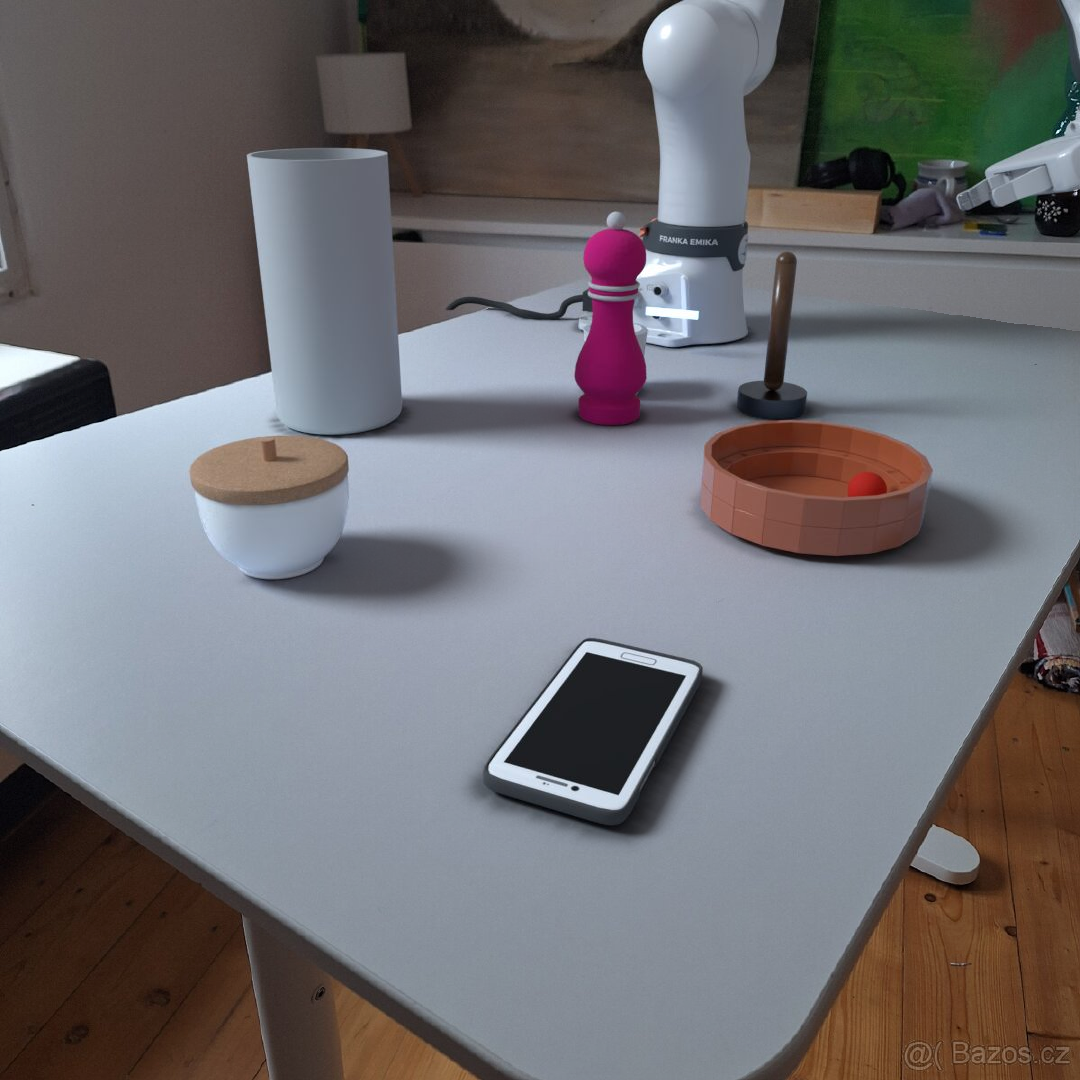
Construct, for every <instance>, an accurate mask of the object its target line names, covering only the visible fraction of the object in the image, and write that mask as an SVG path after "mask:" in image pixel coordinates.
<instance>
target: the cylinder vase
mask: <svg viewBox="0 0 1080 1080" xmlns="http://www.w3.org/2000/svg"><path fill="white" fill-rule="evenodd" d="M246 161H247V168H248V169H247V170H248V177H249V186H250V196H251V203H252V212H253V213H252V214H253V222H254V228H255V230H254V231H255V237H256V246H257V256H258V264H259V272H260V281H261V289H262V298H263V299H262V301H263V308H264V317H265V325H266V333H267V334H266V335H267V342H268V351H269V359H270V369H271V376H272V377H271V378H272V386H273V395H274V402H275V412H276V416H277V418H278V420H279V421H280V422H281V423H282V424H283V425H284V426H286V427H287V428H289V429H291V430H295V431H297V432H301V433H306V434H311V435H312V434H313V435H326V436H331V435H333V436H335V435H338V436H339V435H351V434H358V433H363V432H368V431H372V430H375V429H379V428H382V427H384V426H387V425H388V424H390V423H392V422H394V421H395V420H396V419H397V418H398V417H399V416H400V414H401V412H402V409H403V395H402V394H403V393H402V379H401V378H402V376H401V362H400V361H401V360H400V346H399V345H400V344H399V327H398V309H397V308H398V307H397V293H396V275H395V260H394V242H393V241H394V240H393V226H392V225H393V224H392V207H391V205H392V204H391V191H390V175H389V171H390V170H389V157H388V152H387V151H384V150H378V149H369V148H350V147H348V148H347V147H308V148H306V147H305V148H284V149H283V148H282V149H272V150H262V151H255V152H254V151H253V152H250V153H247V154H246Z"/></svg>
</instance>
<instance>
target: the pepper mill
mask: <svg viewBox="0 0 1080 1080" xmlns="http://www.w3.org/2000/svg"><path fill="white" fill-rule="evenodd" d="M625 225H626V217H625V215H624V214H623V213H622V212H620V211H613V212H610V213H609V214H608V216H607V218H606V226H607V227H608V228H606V229H602V230H599V231H597V232H596V233H594V234H592V235H591V237H590V238H589V239H588V240H587V242H586V244H585V247H584V250H583V257H582V258H583V266H584V268H585V270H586V272H587V273H588V274H589V276H590V277H591V279H590V280H589V281H588V282H587V286H588V288H589V291H588V296H589V297H591V298H592V307H593V314H592V324H591V328H590V331H589V334H588V336H587V339H586V341H585V343H583V345H582V347H581V349H580V351H579V353H578V356H577V359H576V361H575V368H574V380H575V383H576V385H577V387H578V388H579V389H580V390H581V391H582V393H583V394H582V395H580V396H579V398H578V416H579V418H580V419H582V420H583V421H585V422H588V423H591V424H594V425H601V426H621V425H622V426H623V425H627V424H631V423H633V422H636V421H637V420H638V419H639V418H640V416H641V399H640V397H638V396H637V395H638V394H637V392H638V391H639V392H640V391H641V389H642V388H643V387H644V385H645V384H646V382H647V375H648V374H647V364H646V359H645V355H644V356H643V353H642V350H641V348H640V345H639V343H638V340H637V337H636V335H635V330H634V325H633V307H634V301H635V299H636V298H638V297H639V292H638V290H639V289H638V288H639V287H640V283H639V282H638V281H636V279H637V277H638V275H639V274H640V273H641V272H642V271H643V269H644V267H645V265H646V249H645V246H644V244H643V239H641V237H639V235H637V234H636V233H635V232H633V231H631V230H628V229H626V228H625V229H624V227H626V226H625ZM639 392H638V393H639ZM636 394H637V395H636Z"/></svg>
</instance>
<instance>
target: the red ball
mask: <svg viewBox="0 0 1080 1080" xmlns="http://www.w3.org/2000/svg"><path fill="white" fill-rule="evenodd" d="M847 492H848V497H858V496H875V495H881V494H885V493H887V486H886V483H885V481H884V480H883V478H882V477H880V476H879V475H878V474H876V473H873V472H862V473H859V474H857V475H856V476H854V477H853V478H852V480H851V481H850V483H849V485H848V490H847Z"/></svg>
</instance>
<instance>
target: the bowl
mask: <svg viewBox="0 0 1080 1080" xmlns="http://www.w3.org/2000/svg"><path fill="white" fill-rule="evenodd" d="M933 471H934V470H933V467H932V466H931V464H930V462H929V460H928V458H927V456H926V455H924V454H923V453H921V452H920V451H919V450H917V449H916V448H914V447H913V446H912V445H910V444H908V443H906V442H904V441H902V440H899V439H897V438H894V437H892V436H890V435H887V434H884V433H880V432H877V431H873V430H870V429H866V428H862V427H858V426H854V425H846V424H840V423H833V422H828V421H817V420H800V419H799V420H797V419H780V420H763V421H762V420H761V421H755V422H750V423H745V424H740V425H735V426H734V425H733V426H732V427H729V428H727V429H723V430H721V431H718V432H717V433H715V434H714V435H712V436H711V437H710V438H709V439H708V440H707V441H706V442H705V443H704V447H703V458H702V471H701V483H700V498H699V499H700V500H699V507H700V508H701V510H702V511H703V513H704V514H705V516H706V517H707V518H708V519H709V521H710V522H712V523H713V524H715V525H717V526H718V527H720V528H721V529H723V530H724V531H726V532H727V533H729V534H730V535H733V536H735V537H738V538H742V539H743V540H746V541H749V542H752V543H754V544H757V545H760V546H762V547H768V548H771V549H776V550H781V551H786V552H789V553H790V552H791V553H796V554H803V555H815V556H831V557H832V556H833V557H843V556H854V555H856V556H857V555H869V554H875V553H880V552H883V551H884V552H885V551H887V550H890V549H895V548H899V547H901V546H903V545H904V544H906V543H908V542H909V541H910V540H912V539H913V538H915V537H917V536H918V535H919V533H920V530H921V528H922V525H923V523H924V519H925V514H926V509H927V503H928V497H929V493H930V487H931V481H932V477H933ZM862 472H873V473H876V474H878V475H879V476H880V477H882V478H883V480H884V481H885V483H886V486H887V493H885V494H881V495H875V496H858V497H848V492H847V490H848V485H849V483H850V481H851V480H852V478H853V477H854V476H856V475H857V474H859V473H862Z"/></svg>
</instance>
